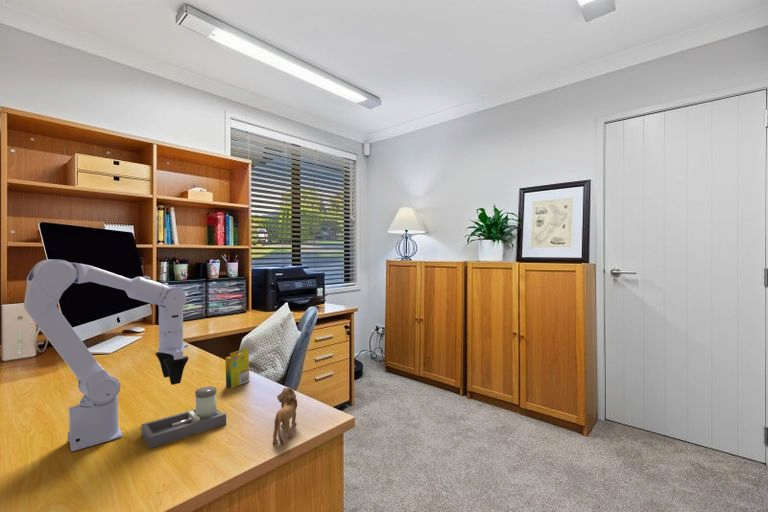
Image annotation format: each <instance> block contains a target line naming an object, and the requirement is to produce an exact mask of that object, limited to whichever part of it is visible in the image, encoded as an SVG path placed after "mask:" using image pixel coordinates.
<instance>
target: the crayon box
mask: <svg viewBox="0 0 768 512" xmlns="http://www.w3.org/2000/svg"><path fill="white" fill-rule="evenodd" d="M224 360H225V387H226V388H229V389H233V388H235V387H239V386H240V385H243V384H246V383H249V382H250V361H249V347H247V348H243V349H240V350H235V351H233V352H230V353H229V356H227V357H225V359H224Z"/></svg>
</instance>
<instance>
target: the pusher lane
mask: <svg viewBox="0 0 768 512" xmlns="http://www.w3.org/2000/svg"><path fill="white" fill-rule="evenodd" d="M192 410H193V411H194V412H195V413H196V408H195V409H191V410H188V411H183V412H180V413H178V414H174V415H169V416H166V417H163V418H159V419H155V420H152V421H149V422H145V423H141V436H142V438H143V440H144V442H145V443H146V445H147V447H148V448H149V450H150V449H153V448H156V447H160V446H163V445H167V444H169V443H172V442H175V441H178V440H179V441H180V440H182V439H184V438H187V437H190V436H194V435H197V434H199V433H203V432H206V431H210V430H213V429H216V428H218V427H221V426H224V425H227V413H226V412H223V413H222V412H221V411H220V410H219V409H217V408H216V416H213V417H209V418H206V419H203V420H199V421H196V422H193V423H191V422H190V423H187V424H183V425H180V426H177V427H173V428H172V423H175V422H179V421H182V420H186V419H189V418H188V412H189V411H192Z"/></svg>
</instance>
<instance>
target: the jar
mask: <svg viewBox="0 0 768 512" xmlns="http://www.w3.org/2000/svg"><path fill="white" fill-rule="evenodd" d="M194 395H195V409H196V414H197V415H198V416H199V417H200V420H203V419H206V418H209V417H213V416H216V409H217V387H216V386H203V387H200V388H197V389H196V390H195V391H194Z"/></svg>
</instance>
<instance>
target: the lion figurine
mask: <svg viewBox="0 0 768 512" xmlns="http://www.w3.org/2000/svg"><path fill="white" fill-rule="evenodd" d="M276 398H277V400H278V402H279V403H280V405H281V408H280V409H279V410H278V411H277V412H276V414H275V418H274V428H273V434H272V439H273V440H272V443H273V444H277V443H278V441H279V445H281V446H284V440H283V438H282V435H281V428H284V429H285V435H286V437H287V438H293V436H294V435H293V433H292V432H291V433H290V424H291V426H292V427H293V426H295V427H296V426H297V422H296V420H297V419H296V418H297V408H298V399H297V395H296V393H295V391H294V389H293V388H291V386H290V387H283V389H282V390H281V392H280V393H279V394H278V395H277V396H276ZM290 420H291V421H290ZM277 437H278V438H277Z"/></svg>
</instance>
